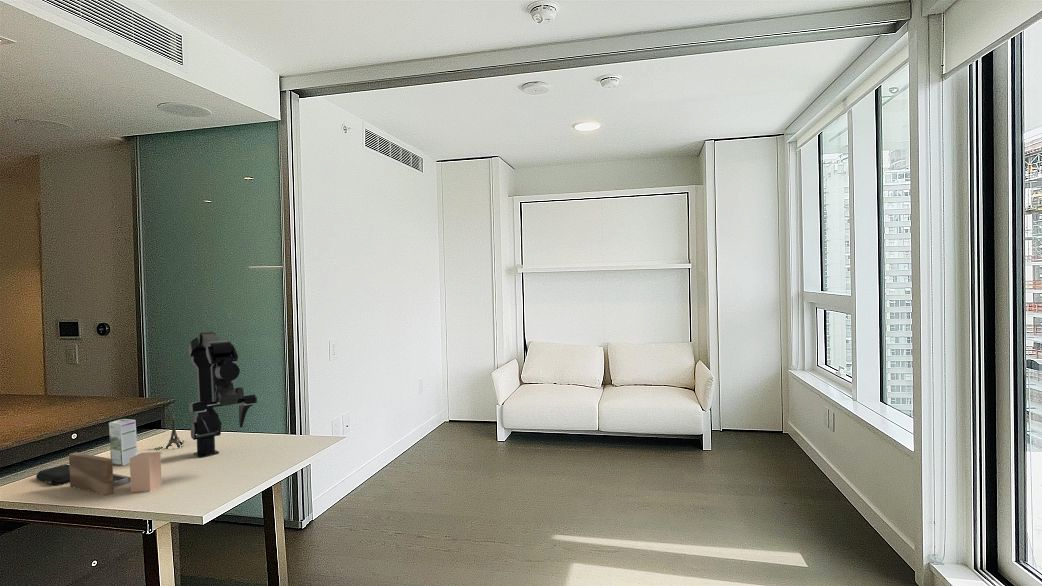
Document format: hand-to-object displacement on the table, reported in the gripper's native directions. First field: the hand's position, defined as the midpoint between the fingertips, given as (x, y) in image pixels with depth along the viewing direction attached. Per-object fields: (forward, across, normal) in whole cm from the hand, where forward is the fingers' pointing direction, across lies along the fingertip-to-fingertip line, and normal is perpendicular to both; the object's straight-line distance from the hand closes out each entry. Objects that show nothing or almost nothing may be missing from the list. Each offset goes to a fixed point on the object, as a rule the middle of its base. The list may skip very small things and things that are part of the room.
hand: (225, 430), depth 188 cm
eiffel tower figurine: (+9, -7, +49) cm, 50 cm away
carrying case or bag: (+10, -41, +33) cm, 54 cm away
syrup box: (+9, -24, +39) cm, 46 cm away
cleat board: (+12, -30, +16) cm, 36 cm away
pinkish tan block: (+14, -22, +4) cm, 26 cm away
